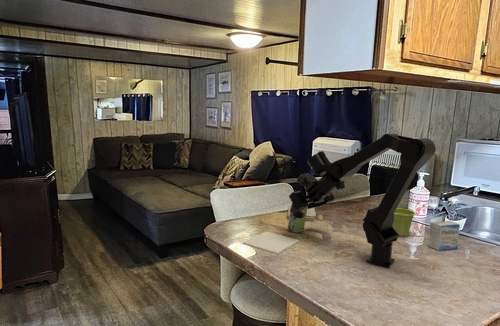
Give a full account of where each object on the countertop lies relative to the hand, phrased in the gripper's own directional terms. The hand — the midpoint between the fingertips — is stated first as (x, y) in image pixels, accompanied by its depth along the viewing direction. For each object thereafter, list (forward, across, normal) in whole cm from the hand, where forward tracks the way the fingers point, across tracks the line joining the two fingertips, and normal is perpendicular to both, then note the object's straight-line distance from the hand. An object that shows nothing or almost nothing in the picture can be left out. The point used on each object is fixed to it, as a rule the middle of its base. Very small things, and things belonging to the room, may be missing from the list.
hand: (299, 209), depth 127 cm
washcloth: (+17, -17, -4) cm, 24 cm away
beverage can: (+7, 0, +6) cm, 9 cm away
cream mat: (+4, +16, +8) cm, 18 cm away
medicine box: (-22, -28, +34) cm, 49 cm away
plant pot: (-11, -29, +23) cm, 39 cm away
